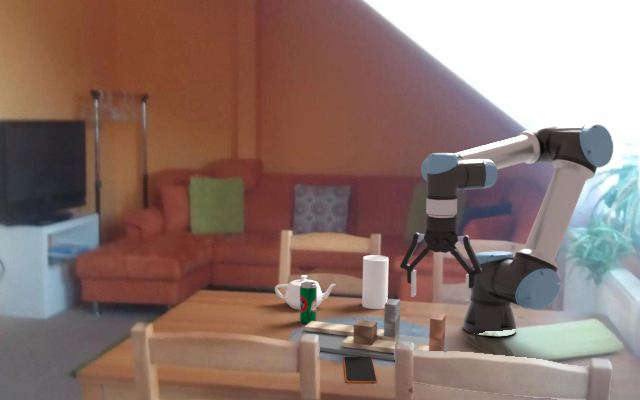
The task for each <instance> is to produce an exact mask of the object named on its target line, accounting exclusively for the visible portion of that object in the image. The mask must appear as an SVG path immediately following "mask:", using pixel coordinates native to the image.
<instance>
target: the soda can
mask: <svg viewBox="0 0 640 400" xmlns="http://www.w3.org/2000/svg"><path fill="white" fill-rule="evenodd" d="M317 308H318V307H317V286H316V283H315V282H310V281H306V282H302V283H301V286H300V310H299V321H300V323H301V324H304V325H307V324H308V323H310V322H311V321H317Z"/></svg>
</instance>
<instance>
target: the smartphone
mask: <svg viewBox="0 0 640 400" xmlns="http://www.w3.org/2000/svg"><path fill="white" fill-rule="evenodd" d="M373 359H374V358H371V357H363V356H343V367H344V368H343V369H344V371H343V372H344V380H345V383H347V384H372V383H373V384H377V383H378V378H377V374H376V369H375V364H374V360H373Z"/></svg>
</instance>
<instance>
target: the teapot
mask: <svg viewBox="0 0 640 400" xmlns="http://www.w3.org/2000/svg"><path fill="white" fill-rule="evenodd" d="M300 278H301V279H295V280H292V281H290V282H289V283H283V284H282V283H281V284H277V285H276V286H274V292H275V294H276V295H277V296H278V297H279V298H281V299H283V300H285V302H286V304H287V305H288V306H289V307H290V308H291V309H294V310H299V311H300V286H301V283H302V282H306V281H310V282H315V283H316V286H317V308H318V306H319V305H321V304H322V303H323V301H324V300H326V299H327V298H328V297H329V296H330V295H331V292H332V290H333V288H334V287H335V286H336V285H337V284H336V283H331V284H329V287H328V288H327V289H326V291H325V292H322V289H321V286H320V284H319V282H318V281H316V280H313V279H307V278H308V275H305V274H303V275H302V274H301V275H300ZM279 288H286V291H285V294H282V293H281V292H280V290H279Z"/></svg>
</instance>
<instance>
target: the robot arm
mask: <svg viewBox="0 0 640 400" xmlns="http://www.w3.org/2000/svg"><path fill="white" fill-rule="evenodd" d="M613 152H614V141H613V139H612V134H611V133H610V132H609V130H608V129H607V128H606V127H605V126H603V125H601V124H598V123H597V124H596V123H591V122H585V123H575V122H574V123H568V122H567V123H566V122H555V123H549V124H545V125H542V126H539V127H535V128H532V129H529V130H524V131H522V132H520V133H519V134H518V135H517V136H516V137H511V138H508V139H504V140H501V141H495V142H492V143H489V144H486V145H485V144H484V145H481V146H477V147H474V148H473V147H472V148H470V149H466V150H462V151H458V152H454V153H453V152H432V153H430V154H429V155H428V156H427V157H426V158H425V159H424V160H423V162H422V164H421V167H420V171H421V176H422V178H423V179H424V180H425V181H426V203H425V204H426V209H425V210H426V211H425V212H426V214H427V216H426V218H425V219H426V220H425V233H420V232H419V231H416V232H414V234H413V236H412V242H411V244H410V246H409V248H408V250H407V252H406V253H405V256H404V257H403V260H402V261H401V262H400V265H399V267H400V269H404V270H405V271H406V272H407V273H406V275H407V277H406V283H407V284H410V297H411V298H415V296H416V295H417V269H414V268H415V267H416V266H417V265H418V264H419V263H420V262H421V261H422V260H423V259H424V257H425V256H427V254H428V253H429V252H430V251H432V252H433V253H443V254H447V253H450V254H451V255H452V256H453V257H454V258H455V260H457V262H458V264H460V265H461V267H462V268H463V270H464V272H466V275H465V280H464V281H465V284H464V285H465V286H464V287H465V288H464V289H465V290H464V291H465V292H464V302H465V303H468V302H469V304H468V307H467V310H466V312H465V315H464V318H463V322H462V328H463V330H464V329H465V330H464V331H465V332H468V333H469V332H470V334H472V333H475V334H479V333H483V332H485V331H503V330H512V329H516V330H517V321H516V318H515V314H514V311H513V307H512V304H513V305H517V306H519V307H521V308H522V309H530V310H534V311H539V310H540V311H541V310H544V309H545V308H548V307H549V306H550V305H552V304H553V302H554V301H555V300H556V299H557V297H558V295H559V292H560V289H561V283H560V282H561V280H560V279H561V278H560V277H559V275H558V273H557V270H558V268H559V267H558V264H557V262H556V258H557V255H558V252H559V250H560V247H561V245H562V242H563V240H564V236H565V235H566V231H567V229H568V227H569V225H570V221H571V219H572V217H573V214H574V212H575V210H576V206H577V204H578V201H579V199H580V196H581V194H582V191H583V189H584V186H585V185H586V181H587V180H589V179H592V178H594V177H595V174H596V172H597V169H598V168H602V167H605V166H606V165H608V164H609V163H610V161H611V160H612V156H613ZM522 163H524V164H527V165H530V164H532V165H533V164H534V163H551V164H552V166H553V168H554V172H553V175H552V177H551V180H550V183H549V185H548V187H547V189H546V192H545V193H544V194H545V195H544V197H543V199H542V202H541V205H540V207H539V211H538V212H537V215H536V217H535V219H534V222H533V225H532V228H531V229H530V232H529V234H528V238H527V239H526V242H525V244H524V247H523V248H522V249H519V250H517V251H516V252H515V254H514V253H513V252H510V251H483V252H477V253H475V251H474V249H473V246H472V245H471V239H470V235H469V234H465V235H459V236H458V233H457V229H458V226H457V225H458V223H457V222H458V221H457V220H458V219H457V218H458V217H457V216H455V215H457V214H458V191H465V190H466V191H467V190H478V189H479V190H483V189H489V188H491V187H493V186H494V185H495V184H496V182H497V180H498V170H500V169H505V168H508V167H512V166H516V165H518V164H522ZM423 240H424V241H425V243H426V244H427V245H426V247H425V248H424V249H423V250H422V251H421V252H420V254H418V255H417V257H416V258H415V259H414V260H413V261H412V262H411V263H409V261H410V260H411V258H412V255H413V254H414V252H415V250H416V249H417V247H418V244H419V243H421V242H422V241H423ZM457 242H459V243H460V244H461V245H463V247H464V250H465V251H466V254H467V256H468V258H469V260H470V263H471V264H470V263H469V261H467V259H466V258H465V256H464V255H463V254H462V253H461V252H460V250H459V249H458V248H457V246H456V244H457ZM475 334H474V335H475Z"/></svg>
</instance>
